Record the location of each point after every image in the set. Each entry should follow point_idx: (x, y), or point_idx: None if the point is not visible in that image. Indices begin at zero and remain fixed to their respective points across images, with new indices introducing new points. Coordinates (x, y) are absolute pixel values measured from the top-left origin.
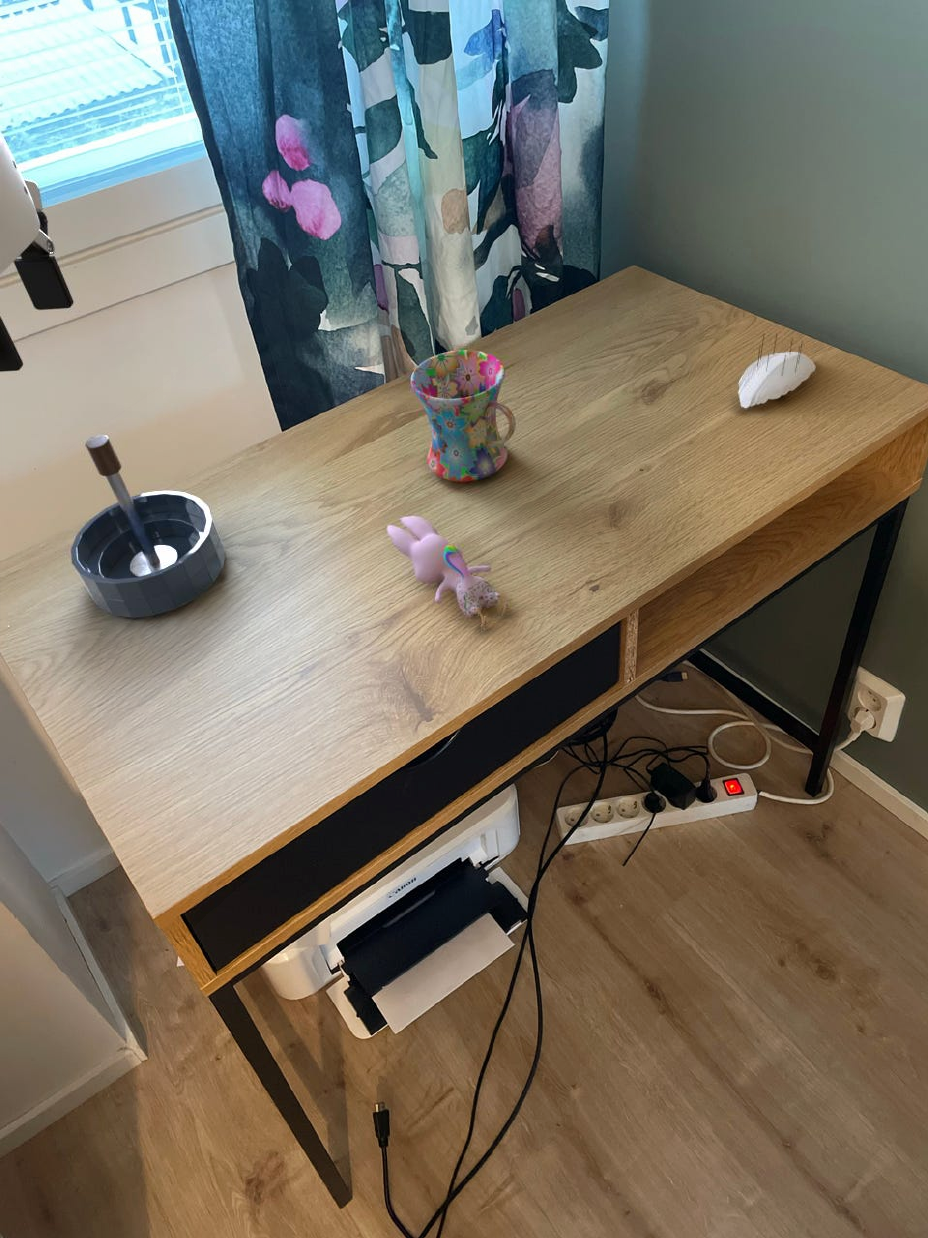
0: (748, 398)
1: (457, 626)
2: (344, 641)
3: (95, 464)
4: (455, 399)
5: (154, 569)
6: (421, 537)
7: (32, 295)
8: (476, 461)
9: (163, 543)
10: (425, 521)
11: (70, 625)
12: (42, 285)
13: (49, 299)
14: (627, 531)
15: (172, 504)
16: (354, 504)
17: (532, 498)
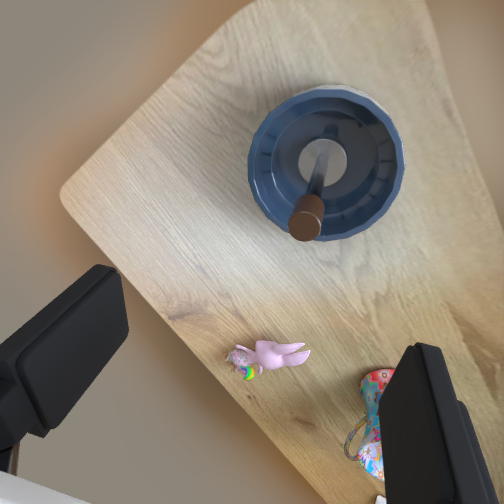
0: (380, 502)
1: (229, 342)
2: (224, 290)
3: (296, 204)
4: (359, 452)
5: (307, 166)
6: (283, 357)
7: (412, 384)
8: (364, 400)
9: (365, 160)
10: (294, 365)
11: (267, 73)
12: (402, 437)
13: (395, 398)
14: (289, 421)
15: (387, 190)
16: (369, 314)
17: (334, 400)
